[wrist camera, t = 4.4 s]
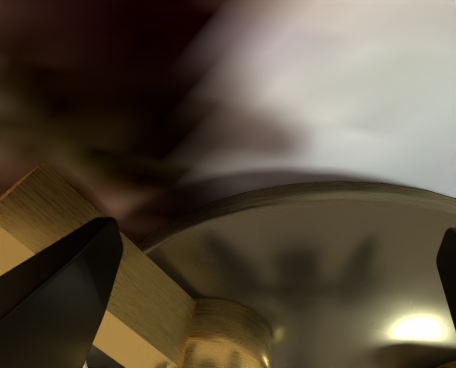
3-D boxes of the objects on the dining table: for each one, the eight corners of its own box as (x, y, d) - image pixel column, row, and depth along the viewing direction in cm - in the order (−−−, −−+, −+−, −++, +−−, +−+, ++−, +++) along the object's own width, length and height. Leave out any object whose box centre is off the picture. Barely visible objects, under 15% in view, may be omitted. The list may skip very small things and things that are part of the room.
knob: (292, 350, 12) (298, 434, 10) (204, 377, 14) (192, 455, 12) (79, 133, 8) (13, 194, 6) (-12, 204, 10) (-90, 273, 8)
